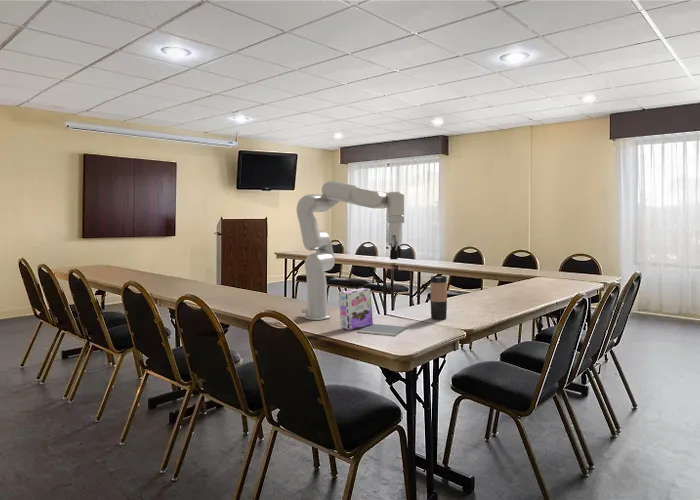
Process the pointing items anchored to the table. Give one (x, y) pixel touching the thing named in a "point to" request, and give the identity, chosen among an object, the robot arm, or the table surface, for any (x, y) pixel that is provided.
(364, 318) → the candy box
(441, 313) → the travel mug
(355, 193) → the robot arm
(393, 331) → the mat
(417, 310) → the table surface
